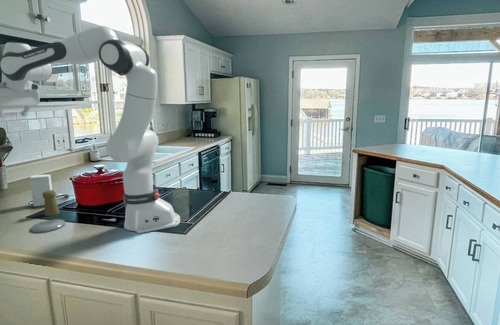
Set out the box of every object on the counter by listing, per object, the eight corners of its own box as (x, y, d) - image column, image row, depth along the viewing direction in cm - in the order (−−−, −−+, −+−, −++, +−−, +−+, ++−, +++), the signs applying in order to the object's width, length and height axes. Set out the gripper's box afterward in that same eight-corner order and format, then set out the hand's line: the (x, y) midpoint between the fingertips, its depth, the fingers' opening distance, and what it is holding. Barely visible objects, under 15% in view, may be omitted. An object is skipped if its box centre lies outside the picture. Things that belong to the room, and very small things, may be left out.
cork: (52, 216, 146) (48, 193, 144) (41, 215, 147) (37, 192, 145) (62, 211, 152) (59, 189, 149) (51, 211, 153) (48, 188, 151)
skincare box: (33, 207, 159) (28, 177, 156) (35, 203, 165) (31, 175, 162) (52, 204, 163) (48, 175, 159) (54, 201, 168) (50, 173, 165)
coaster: (68, 219, 141) (68, 218, 141) (59, 230, 130) (59, 228, 130) (38, 223, 139) (37, 221, 138) (26, 234, 127) (25, 232, 127)
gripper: (-5, 83, 120) (-7, 119, 124) (43, 86, 139) (40, 117, 143) (-18, 79, 121) (-19, 115, 125) (31, 82, 141) (29, 113, 144)
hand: (13, 116), depth 134 cm, fingers open, 8 cm apart
